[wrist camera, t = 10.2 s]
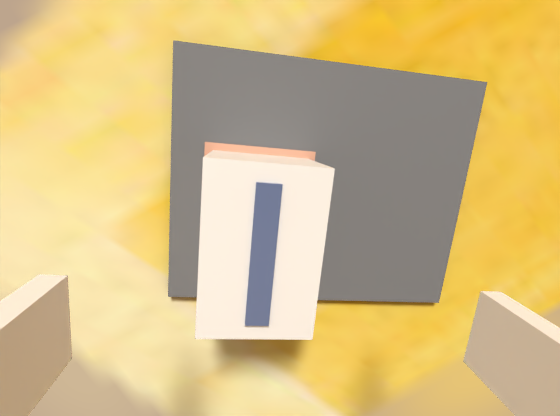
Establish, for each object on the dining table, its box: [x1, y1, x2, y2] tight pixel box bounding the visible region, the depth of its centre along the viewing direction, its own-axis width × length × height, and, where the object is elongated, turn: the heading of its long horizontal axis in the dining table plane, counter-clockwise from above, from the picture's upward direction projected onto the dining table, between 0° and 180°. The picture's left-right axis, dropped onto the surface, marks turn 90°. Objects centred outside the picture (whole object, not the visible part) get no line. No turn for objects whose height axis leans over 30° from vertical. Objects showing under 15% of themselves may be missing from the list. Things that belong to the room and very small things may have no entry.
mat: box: [168, 41, 487, 303], centre depth 22 cm, size 20×16×1 cm
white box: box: [195, 150, 335, 340], centre depth 18 cm, size 9×6×6 cm, turn 174°
